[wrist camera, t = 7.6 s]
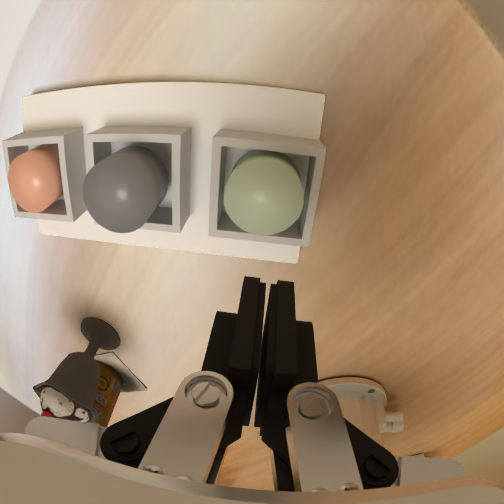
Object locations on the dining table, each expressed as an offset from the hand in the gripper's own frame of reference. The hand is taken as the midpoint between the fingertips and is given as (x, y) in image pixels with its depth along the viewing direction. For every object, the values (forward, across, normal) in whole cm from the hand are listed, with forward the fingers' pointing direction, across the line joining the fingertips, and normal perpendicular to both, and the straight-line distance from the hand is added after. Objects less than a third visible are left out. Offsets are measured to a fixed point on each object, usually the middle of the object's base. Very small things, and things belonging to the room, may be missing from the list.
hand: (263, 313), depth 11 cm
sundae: (+13, +17, +18) cm, 28 cm away
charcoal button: (+9, +9, -1) cm, 13 cm away
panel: (+13, +9, -1) cm, 15 cm away
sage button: (+11, +1, -1) cm, 11 cm away
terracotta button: (+11, +17, -1) cm, 20 cm away
